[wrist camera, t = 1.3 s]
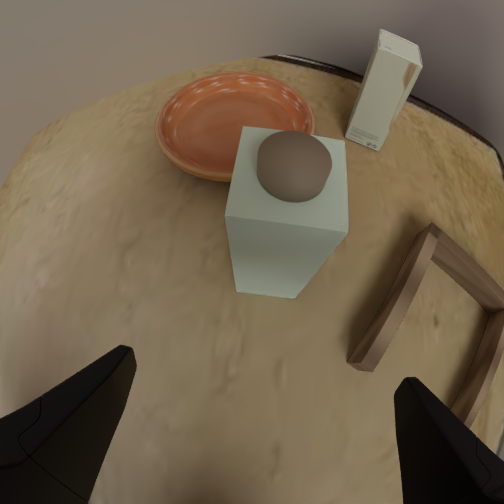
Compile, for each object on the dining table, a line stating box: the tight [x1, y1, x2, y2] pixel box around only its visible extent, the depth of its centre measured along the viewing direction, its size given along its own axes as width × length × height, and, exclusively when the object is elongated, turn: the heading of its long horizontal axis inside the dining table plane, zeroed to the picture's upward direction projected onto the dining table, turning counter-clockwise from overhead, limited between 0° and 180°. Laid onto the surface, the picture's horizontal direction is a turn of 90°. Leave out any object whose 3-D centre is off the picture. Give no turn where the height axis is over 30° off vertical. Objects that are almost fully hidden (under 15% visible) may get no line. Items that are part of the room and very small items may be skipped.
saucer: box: [155, 72, 315, 182], centre depth 27 cm, size 16×16×3 cm
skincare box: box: [345, 29, 422, 151], centre depth 23 cm, size 6×4×12 cm
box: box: [347, 223, 504, 429], centre depth 20 cm, size 14×14×3 cm
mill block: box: [224, 126, 348, 299], centre depth 17 cm, size 5×5×14 cm
